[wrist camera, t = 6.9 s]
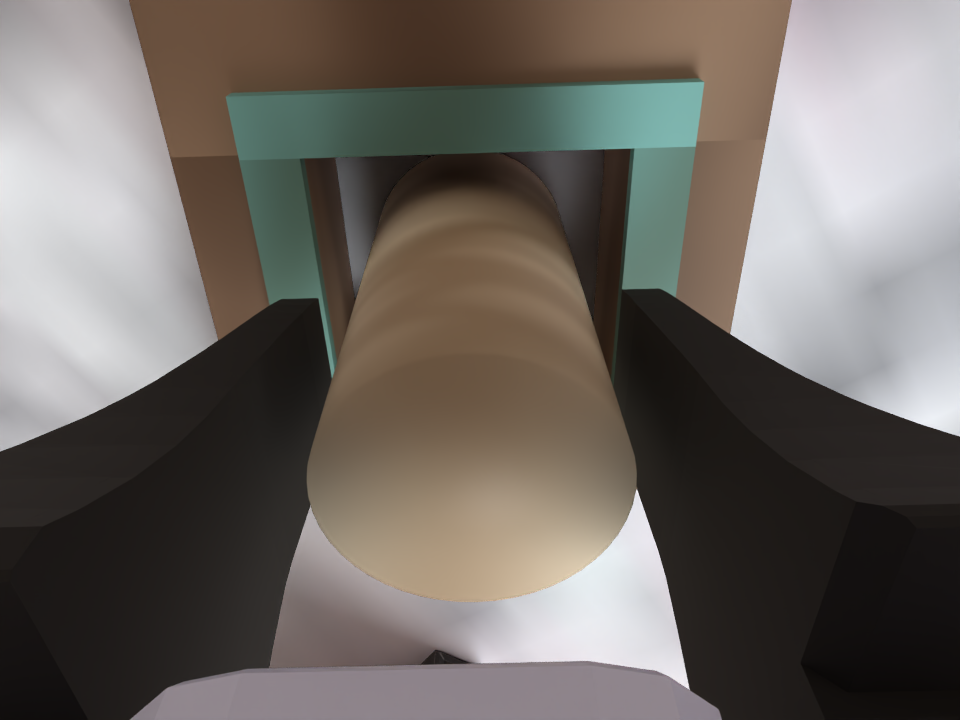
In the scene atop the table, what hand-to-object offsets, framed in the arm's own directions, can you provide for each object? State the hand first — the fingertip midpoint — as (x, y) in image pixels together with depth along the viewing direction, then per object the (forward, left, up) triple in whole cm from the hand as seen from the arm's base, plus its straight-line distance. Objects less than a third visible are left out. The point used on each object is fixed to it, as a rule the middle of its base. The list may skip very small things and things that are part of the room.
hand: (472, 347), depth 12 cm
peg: (0, 0, -4) cm, 4 cm away
